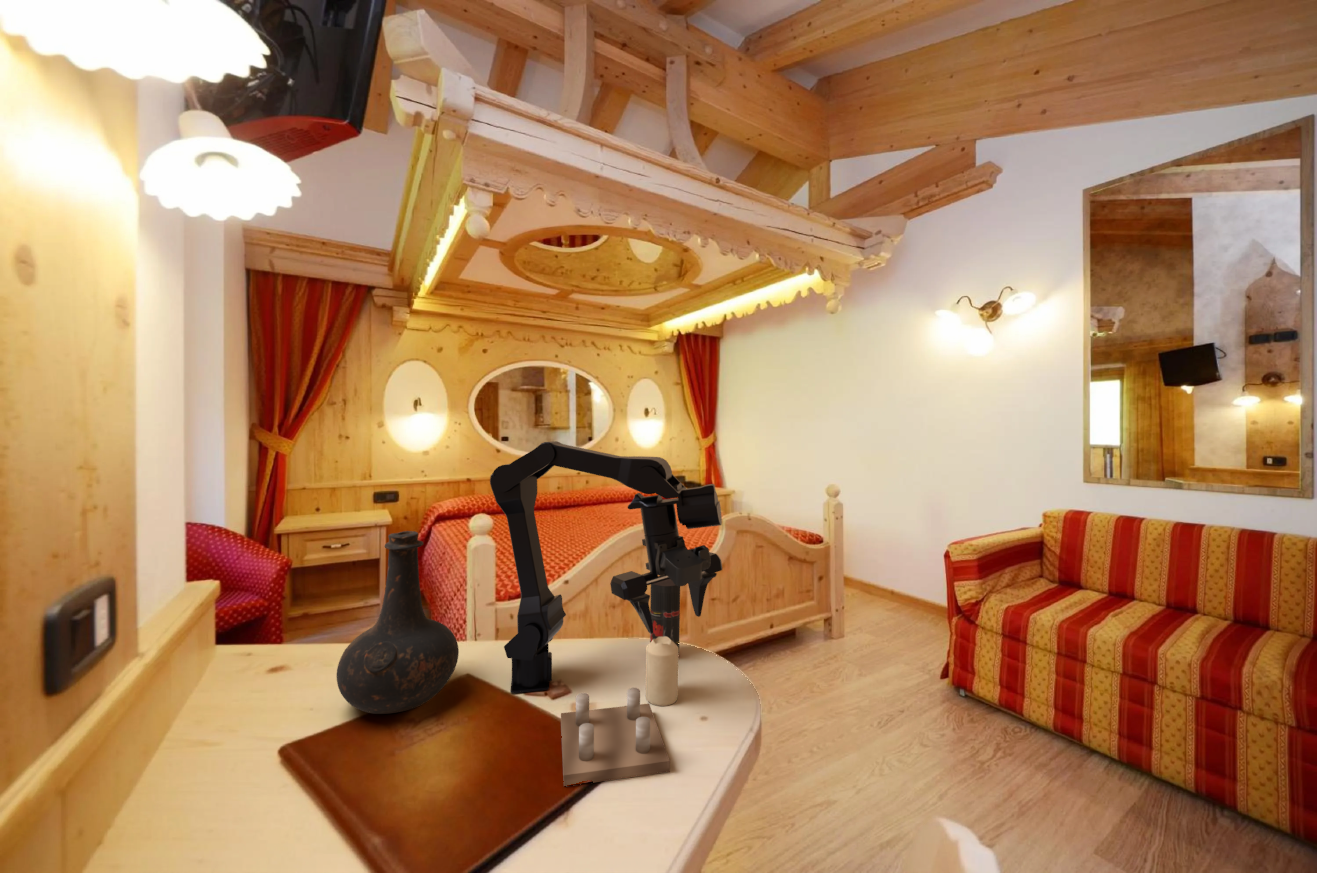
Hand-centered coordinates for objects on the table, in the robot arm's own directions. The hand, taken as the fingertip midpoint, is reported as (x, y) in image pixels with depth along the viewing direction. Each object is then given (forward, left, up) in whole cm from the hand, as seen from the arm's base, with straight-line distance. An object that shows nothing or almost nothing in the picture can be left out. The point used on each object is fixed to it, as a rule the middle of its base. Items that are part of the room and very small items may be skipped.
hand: (675, 624), depth 84 cm
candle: (-2, +2, -13) cm, 14 cm away
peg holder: (-12, -9, -13) cm, 20 cm away
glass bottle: (-45, +10, -13) cm, 48 cm away
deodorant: (+2, +17, -13) cm, 21 cm away
